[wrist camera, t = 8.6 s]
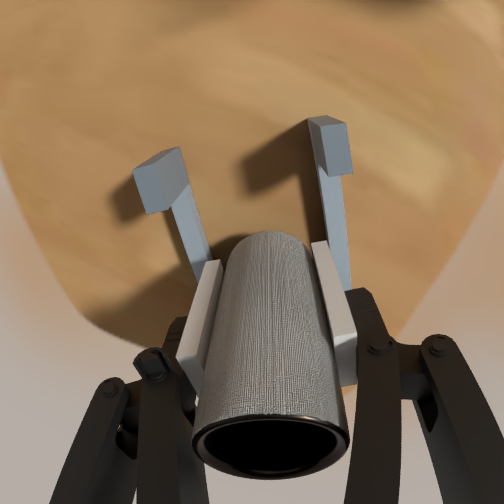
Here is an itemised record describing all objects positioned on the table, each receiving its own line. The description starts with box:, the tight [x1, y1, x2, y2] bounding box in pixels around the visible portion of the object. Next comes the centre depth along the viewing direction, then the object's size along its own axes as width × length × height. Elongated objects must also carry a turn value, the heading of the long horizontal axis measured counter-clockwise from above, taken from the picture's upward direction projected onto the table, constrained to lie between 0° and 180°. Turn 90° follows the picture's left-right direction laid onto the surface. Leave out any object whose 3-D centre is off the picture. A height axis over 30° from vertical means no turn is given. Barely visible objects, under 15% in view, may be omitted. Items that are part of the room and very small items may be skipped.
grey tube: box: [191, 231, 350, 480], centre depth 12 cm, size 4×4×10 cm
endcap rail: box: [132, 116, 353, 291], centre depth 15 cm, size 11×8×5 cm
